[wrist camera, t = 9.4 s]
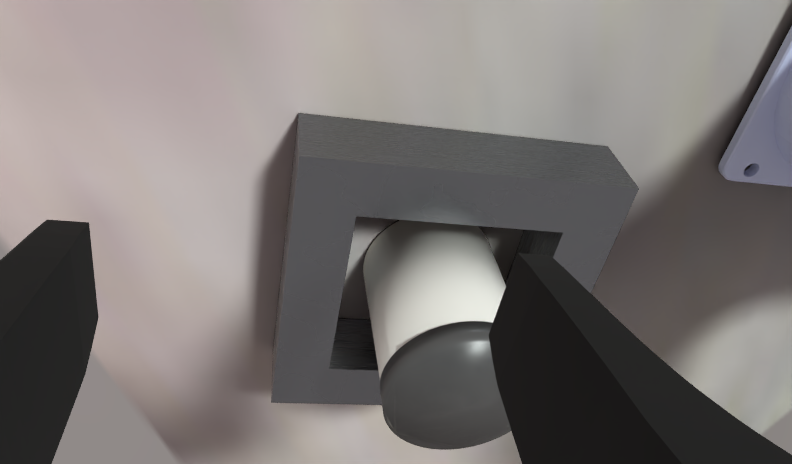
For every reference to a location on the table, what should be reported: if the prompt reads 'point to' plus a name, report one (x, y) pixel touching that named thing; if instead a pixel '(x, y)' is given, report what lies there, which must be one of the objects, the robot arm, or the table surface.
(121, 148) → the table surface
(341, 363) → the grey square frame
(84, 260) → the robot arm
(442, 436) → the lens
